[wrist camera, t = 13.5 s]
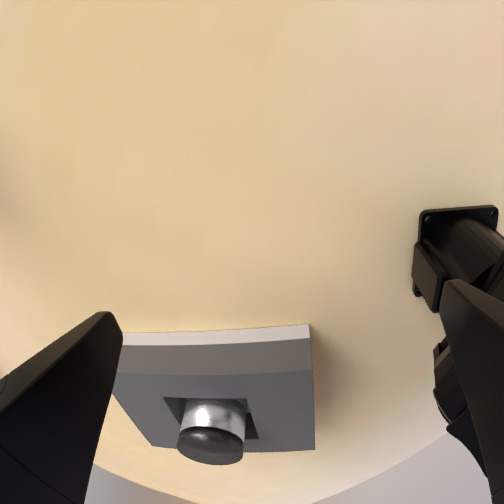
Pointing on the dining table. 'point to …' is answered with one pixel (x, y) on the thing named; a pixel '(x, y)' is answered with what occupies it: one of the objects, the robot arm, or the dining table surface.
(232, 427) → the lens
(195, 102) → the dining table surface
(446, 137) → the dining table surface
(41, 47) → the dining table surface
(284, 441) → the grey plate with pocket
